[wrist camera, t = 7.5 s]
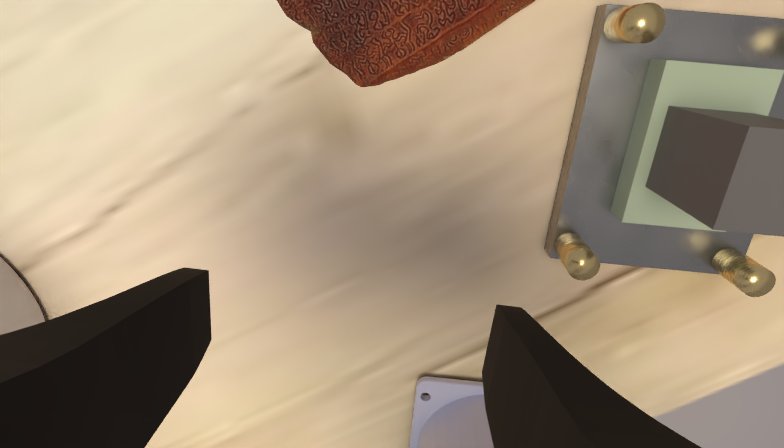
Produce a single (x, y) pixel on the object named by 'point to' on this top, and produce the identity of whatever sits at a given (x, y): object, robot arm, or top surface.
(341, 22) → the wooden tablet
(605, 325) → the top surface
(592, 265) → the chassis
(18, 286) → the utensil holder
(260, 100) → the top surface
